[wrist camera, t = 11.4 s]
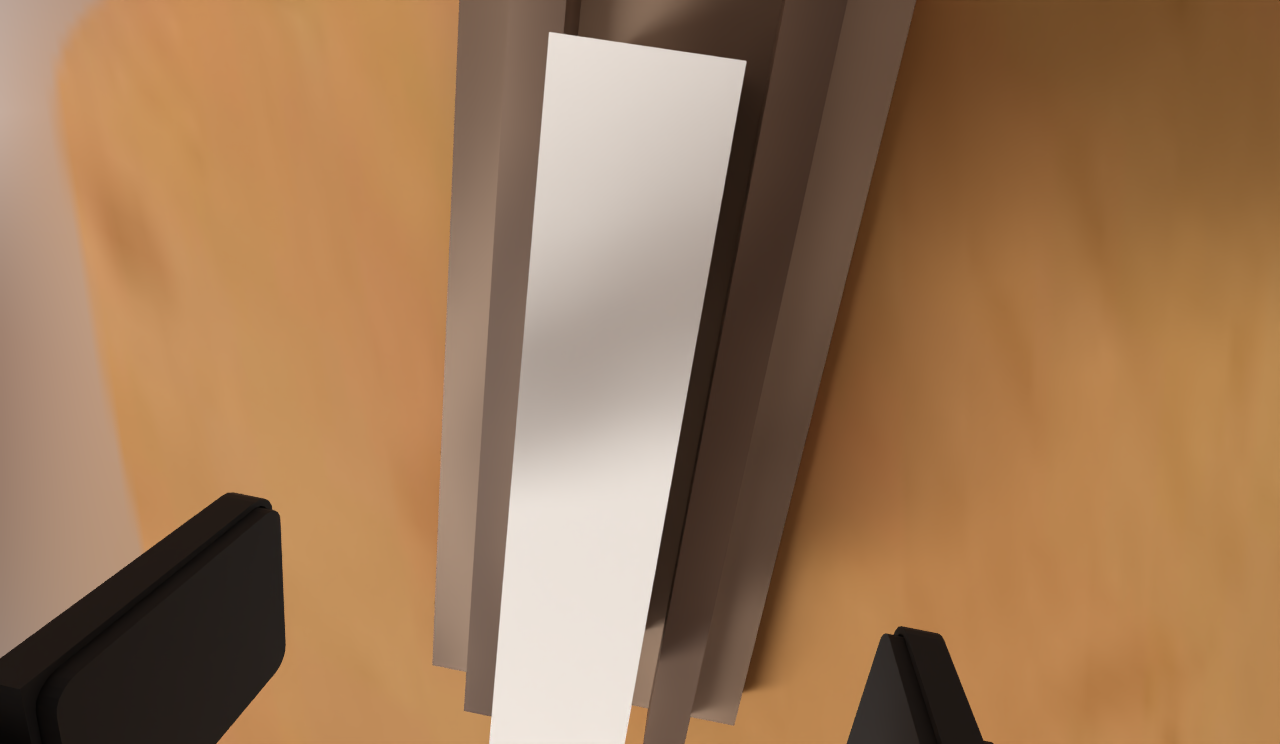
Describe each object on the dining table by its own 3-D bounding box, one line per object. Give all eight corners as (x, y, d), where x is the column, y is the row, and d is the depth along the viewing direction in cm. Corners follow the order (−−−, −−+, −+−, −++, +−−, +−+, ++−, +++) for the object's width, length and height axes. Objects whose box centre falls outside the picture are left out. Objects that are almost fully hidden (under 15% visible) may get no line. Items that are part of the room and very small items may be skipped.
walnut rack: (918, -48, 16) (950, -73, 14) (734, 701, 24) (734, 765, 22) (479, -107, 16) (438, -141, 14) (443, 643, 24) (414, 700, 22)
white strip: (740, 74, 16) (746, 61, 11) (641, 631, 22) (612, 811, 16) (610, 55, 16) (549, 31, 11) (547, 612, 22) (486, 784, 17)
